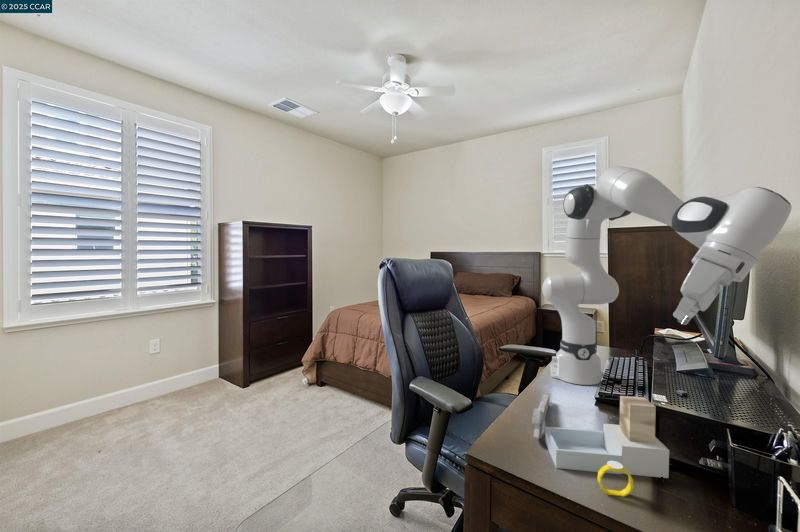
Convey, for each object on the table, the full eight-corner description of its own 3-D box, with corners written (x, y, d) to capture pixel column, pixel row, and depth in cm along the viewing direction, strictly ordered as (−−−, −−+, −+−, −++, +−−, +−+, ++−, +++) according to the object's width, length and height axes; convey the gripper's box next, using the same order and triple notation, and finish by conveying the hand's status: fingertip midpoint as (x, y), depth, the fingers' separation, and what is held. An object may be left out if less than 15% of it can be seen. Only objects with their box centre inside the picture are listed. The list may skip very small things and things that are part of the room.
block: (619, 429, 82) (620, 395, 82) (643, 431, 81) (644, 397, 81) (629, 440, 77) (630, 405, 77) (654, 443, 76) (655, 406, 76)
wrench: (549, 412, 111) (539, 448, 84) (543, 411, 111) (531, 446, 85) (549, 386, 111) (539, 414, 85) (543, 385, 112) (531, 412, 85)
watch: (601, 498, 68) (599, 467, 68) (596, 488, 71) (594, 459, 71) (636, 500, 67) (634, 469, 67) (629, 490, 70) (627, 461, 70)
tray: (545, 442, 88) (545, 426, 87) (601, 447, 85) (601, 431, 85) (556, 467, 77) (556, 450, 77) (620, 474, 75) (621, 456, 75)
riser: (603, 448, 85) (603, 423, 85) (644, 451, 83) (644, 426, 83) (621, 473, 75) (621, 446, 75) (668, 478, 74) (669, 450, 73)
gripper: (704, 267, 81) (668, 317, 84) (700, 245, 67) (656, 306, 69) (738, 281, 77) (698, 333, 80) (741, 259, 62) (693, 324, 65)
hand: (679, 320), depth 74 cm, fingers open, 8 cm apart
